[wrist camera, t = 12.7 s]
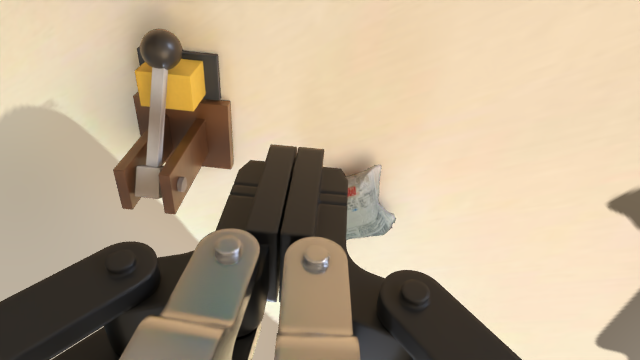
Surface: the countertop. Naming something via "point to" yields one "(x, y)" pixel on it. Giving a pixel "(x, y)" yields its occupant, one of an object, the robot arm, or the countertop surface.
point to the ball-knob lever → (156, 106)
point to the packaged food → (366, 206)
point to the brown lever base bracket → (179, 150)
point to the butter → (183, 81)
